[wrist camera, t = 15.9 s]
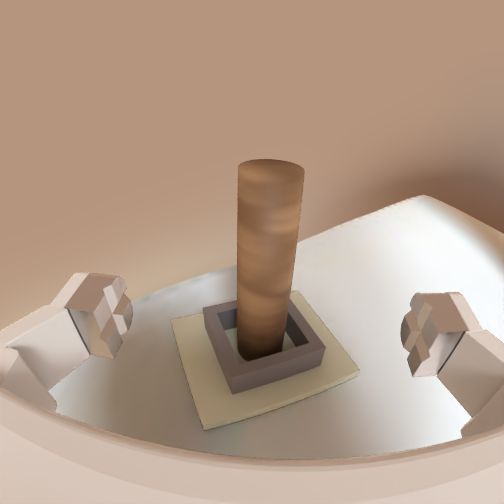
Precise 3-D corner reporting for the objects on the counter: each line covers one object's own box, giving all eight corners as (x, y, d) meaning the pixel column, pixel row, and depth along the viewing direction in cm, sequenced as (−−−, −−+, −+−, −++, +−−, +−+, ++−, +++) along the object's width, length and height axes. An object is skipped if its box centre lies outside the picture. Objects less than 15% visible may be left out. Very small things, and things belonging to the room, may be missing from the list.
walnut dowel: (271, 326, 29) (285, 157, 20) (289, 356, 26) (317, 175, 17) (231, 337, 27) (229, 161, 19) (246, 369, 24) (252, 180, 16)
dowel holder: (296, 297, 34) (300, 272, 32) (356, 376, 25) (368, 352, 23) (172, 326, 29) (166, 300, 28) (203, 430, 20) (198, 410, 18)
